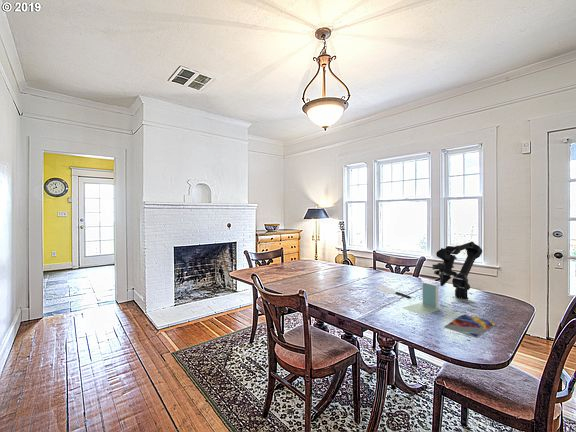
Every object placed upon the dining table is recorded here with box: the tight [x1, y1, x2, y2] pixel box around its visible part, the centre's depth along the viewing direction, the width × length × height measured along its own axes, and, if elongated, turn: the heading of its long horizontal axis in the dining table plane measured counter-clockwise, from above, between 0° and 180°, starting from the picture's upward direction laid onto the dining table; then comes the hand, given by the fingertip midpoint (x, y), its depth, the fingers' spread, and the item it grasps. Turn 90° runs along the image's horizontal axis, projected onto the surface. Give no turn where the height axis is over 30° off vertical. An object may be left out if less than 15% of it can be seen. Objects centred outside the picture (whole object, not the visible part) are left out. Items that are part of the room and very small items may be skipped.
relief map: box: [443, 314, 497, 339], centre depth 146 cm, size 25×15×2 cm, turn 127°
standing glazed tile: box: [422, 281, 439, 308], centre depth 174 cm, size 3×9×14 cm, turn 29°
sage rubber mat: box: [402, 301, 444, 316], centre depth 171 cm, size 20×14×1 cm
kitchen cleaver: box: [374, 285, 412, 300], centre depth 203 cm, size 31×2×10 cm
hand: (441, 285), depth 181 cm, fingers closed
